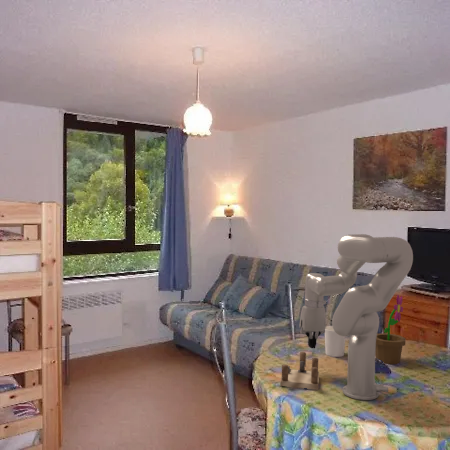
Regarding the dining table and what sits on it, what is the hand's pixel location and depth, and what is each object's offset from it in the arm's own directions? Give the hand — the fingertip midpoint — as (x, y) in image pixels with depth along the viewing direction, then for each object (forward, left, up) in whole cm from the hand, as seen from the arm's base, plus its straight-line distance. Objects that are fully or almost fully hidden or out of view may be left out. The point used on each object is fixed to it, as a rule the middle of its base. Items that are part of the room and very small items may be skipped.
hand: (312, 347), depth 195 cm
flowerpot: (-33, -21, -10) cm, 40 cm away
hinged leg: (+4, +5, -7) cm, 10 cm away
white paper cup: (-10, -24, -10) cm, 28 cm away
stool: (+4, +14, -10) cm, 17 cm away
